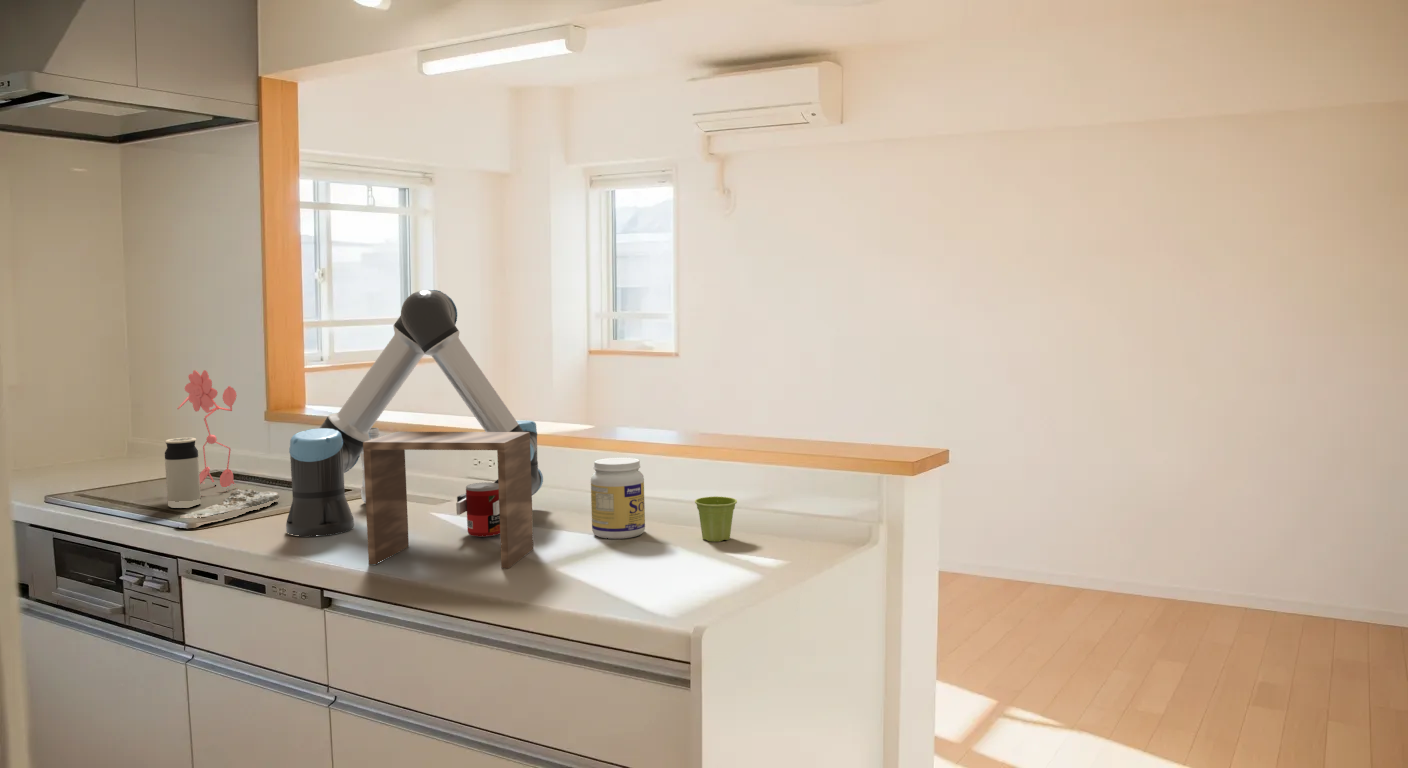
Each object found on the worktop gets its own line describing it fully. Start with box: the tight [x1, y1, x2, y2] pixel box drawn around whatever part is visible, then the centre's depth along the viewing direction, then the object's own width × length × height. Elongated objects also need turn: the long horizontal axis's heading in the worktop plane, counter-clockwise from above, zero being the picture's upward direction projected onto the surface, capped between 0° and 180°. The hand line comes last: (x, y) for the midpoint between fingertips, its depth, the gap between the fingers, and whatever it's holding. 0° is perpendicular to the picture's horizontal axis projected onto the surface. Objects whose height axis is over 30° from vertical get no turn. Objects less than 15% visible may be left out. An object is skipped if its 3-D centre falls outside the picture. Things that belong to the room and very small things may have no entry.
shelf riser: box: [363, 431, 534, 569], centre depth 226 cm, size 30×16×26 cm, turn 81°
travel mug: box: [164, 437, 202, 502], centre depth 287 cm, size 8×8×18 cm
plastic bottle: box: [360, 427, 380, 504], centre depth 287 cm, size 6×7×20 cm
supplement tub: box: [590, 457, 646, 540], centre depth 246 cm, size 12×12×17 cm
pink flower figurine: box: [177, 369, 237, 488], centre depth 308 cm, size 15×26×35 cm, turn 61°
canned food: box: [465, 481, 500, 537], centre depth 246 cm, size 8×8×11 cm
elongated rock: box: [179, 488, 280, 518], centre depth 276 cm, size 35×5×10 cm
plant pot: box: [694, 495, 738, 543], centre depth 239 cm, size 9×9×9 cm
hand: (476, 509), depth 241 cm, fingers closed on canned food, 8 cm apart
